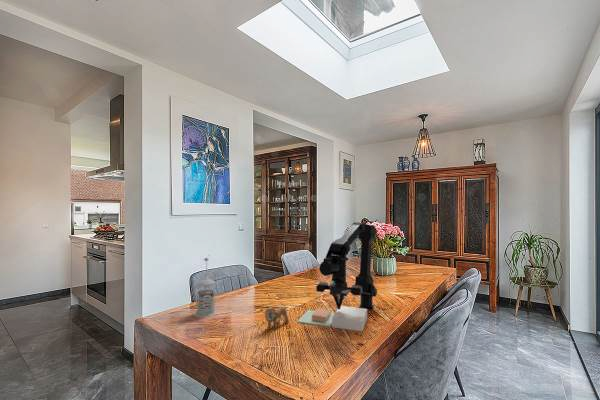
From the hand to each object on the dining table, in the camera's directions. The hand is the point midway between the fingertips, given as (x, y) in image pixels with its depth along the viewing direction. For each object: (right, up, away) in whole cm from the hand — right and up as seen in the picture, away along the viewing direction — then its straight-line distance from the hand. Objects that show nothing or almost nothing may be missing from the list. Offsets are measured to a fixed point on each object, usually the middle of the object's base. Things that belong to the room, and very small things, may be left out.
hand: (339, 309), depth 128 cm
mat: (-9, -5, +3) cm, 11 cm away
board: (+5, -5, -2) cm, 7 cm away
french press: (-60, -5, +8) cm, 61 cm away
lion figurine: (-26, -5, -6) cm, 27 cm away
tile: (-7, -3, +3) cm, 8 cm away
